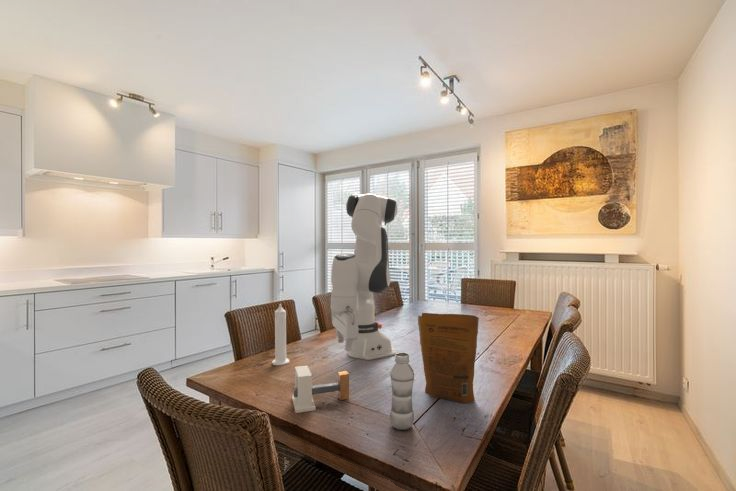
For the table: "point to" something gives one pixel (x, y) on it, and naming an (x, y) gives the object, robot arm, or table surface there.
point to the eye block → (303, 390)
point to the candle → (280, 337)
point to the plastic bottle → (402, 393)
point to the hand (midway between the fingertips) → (344, 346)
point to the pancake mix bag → (449, 354)
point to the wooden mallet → (332, 387)
